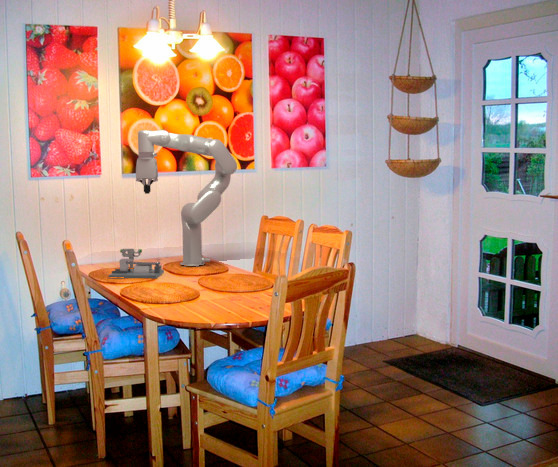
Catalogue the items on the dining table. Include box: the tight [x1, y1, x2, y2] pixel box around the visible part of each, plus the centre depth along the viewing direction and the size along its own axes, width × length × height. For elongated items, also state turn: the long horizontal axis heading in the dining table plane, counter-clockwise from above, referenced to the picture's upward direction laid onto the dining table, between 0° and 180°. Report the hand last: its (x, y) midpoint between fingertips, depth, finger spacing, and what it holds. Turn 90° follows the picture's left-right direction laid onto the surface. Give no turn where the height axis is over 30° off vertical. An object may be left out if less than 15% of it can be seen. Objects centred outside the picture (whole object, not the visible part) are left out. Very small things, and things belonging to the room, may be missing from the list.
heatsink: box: [133, 264, 153, 274], centre depth 322 cm, size 7×7×3 cm
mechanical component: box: [119, 248, 143, 269], centre depth 339 cm, size 3×10×10 cm, turn 89°
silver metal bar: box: [128, 261, 161, 266], centre depth 322 cm, size 15×3×2 cm, turn 87°
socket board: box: [108, 264, 165, 280], centre depth 322 cm, size 22×16×4 cm
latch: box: [119, 258, 134, 271], centre depth 322 cm, size 5×4×6 cm
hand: (147, 193), depth 338 cm, fingers closed
